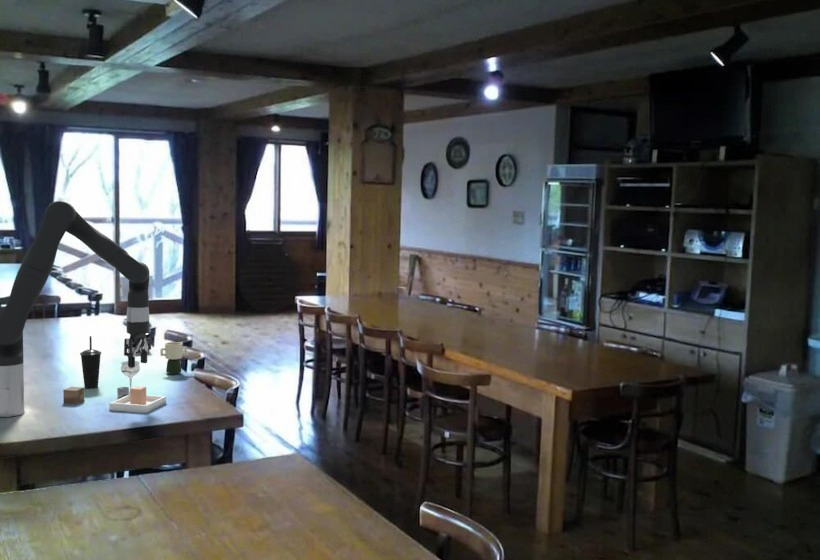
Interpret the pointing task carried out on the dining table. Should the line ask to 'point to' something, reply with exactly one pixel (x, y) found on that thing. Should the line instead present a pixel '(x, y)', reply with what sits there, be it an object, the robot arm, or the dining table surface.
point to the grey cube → (122, 392)
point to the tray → (125, 405)
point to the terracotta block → (138, 395)
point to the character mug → (173, 356)
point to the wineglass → (130, 370)
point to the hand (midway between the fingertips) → (137, 365)
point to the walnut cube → (73, 395)
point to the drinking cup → (90, 366)
